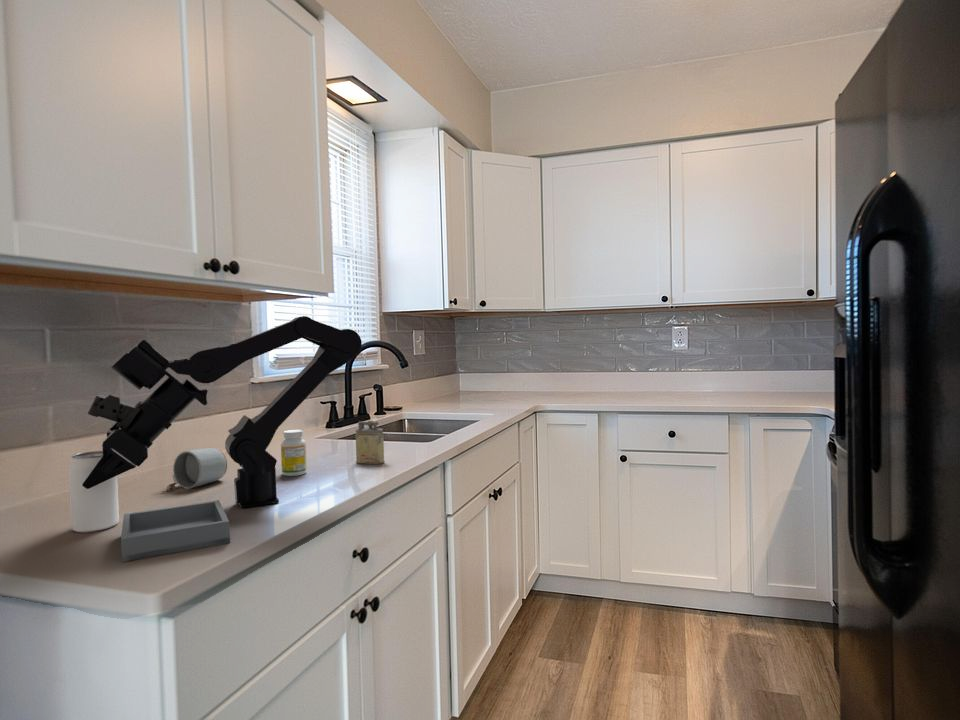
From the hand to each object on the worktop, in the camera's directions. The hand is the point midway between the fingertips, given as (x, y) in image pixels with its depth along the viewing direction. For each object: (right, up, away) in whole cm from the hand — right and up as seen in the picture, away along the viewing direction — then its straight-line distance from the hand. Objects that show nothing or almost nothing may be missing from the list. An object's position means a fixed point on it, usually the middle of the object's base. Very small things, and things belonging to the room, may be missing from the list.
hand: (87, 481), depth 94 cm
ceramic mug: (+4, -7, +29) cm, 30 cm away
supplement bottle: (+22, -6, +36) cm, 43 cm away
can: (+1, -8, +1) cm, 8 cm away
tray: (+17, -7, -6) cm, 20 cm away
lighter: (+37, -5, +46) cm, 59 cm away
